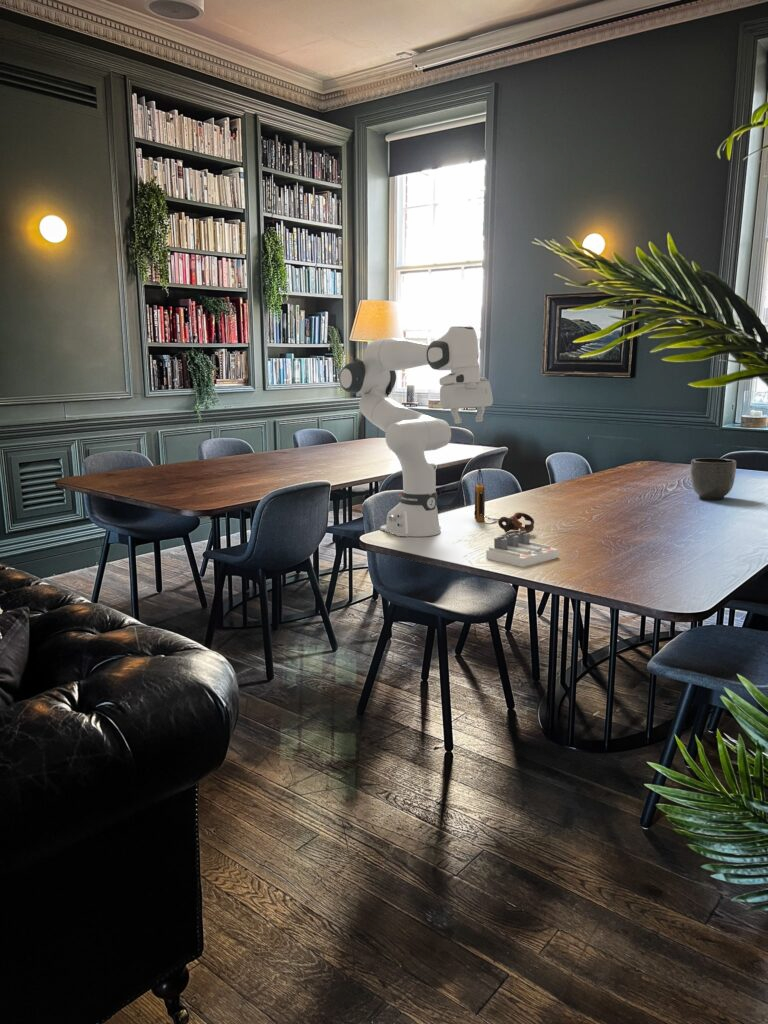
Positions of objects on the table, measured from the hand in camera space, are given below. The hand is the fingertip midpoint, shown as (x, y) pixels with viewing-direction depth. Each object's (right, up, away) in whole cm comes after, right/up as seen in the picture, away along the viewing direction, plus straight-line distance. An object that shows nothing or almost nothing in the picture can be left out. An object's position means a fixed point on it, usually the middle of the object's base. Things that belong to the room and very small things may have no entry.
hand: (468, 422), depth 239 cm
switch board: (+15, -42, -12) cm, 46 cm away
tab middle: (+12, -38, -10) cm, 41 cm away
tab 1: (+8, -39, -13) cm, 42 cm away
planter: (+110, -23, +81) cm, 138 cm away
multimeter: (+12, -31, +44) cm, 55 cm away
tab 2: (+16, -38, -6) cm, 41 cm away
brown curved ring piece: (+18, -36, +21) cm, 45 cm away
